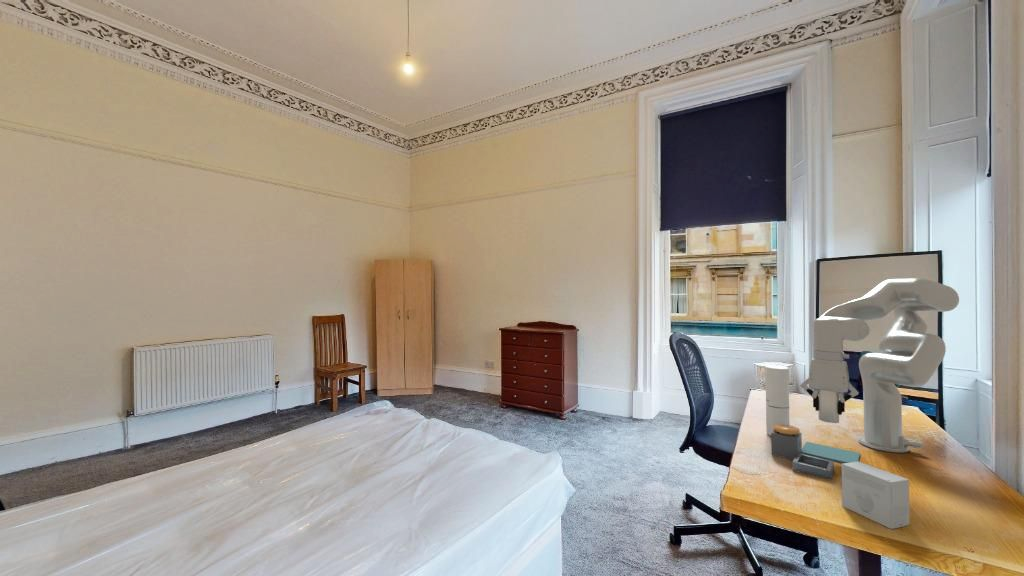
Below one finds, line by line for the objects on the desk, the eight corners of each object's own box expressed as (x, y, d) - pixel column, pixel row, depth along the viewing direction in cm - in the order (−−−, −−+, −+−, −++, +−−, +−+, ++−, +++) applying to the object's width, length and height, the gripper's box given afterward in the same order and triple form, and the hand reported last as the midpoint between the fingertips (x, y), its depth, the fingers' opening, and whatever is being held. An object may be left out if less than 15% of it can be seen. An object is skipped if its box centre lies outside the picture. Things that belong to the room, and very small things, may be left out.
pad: (860, 454, 127) (860, 452, 127) (857, 466, 118) (857, 464, 118) (806, 443, 137) (806, 441, 137) (800, 453, 128) (800, 451, 128)
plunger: (801, 443, 128) (801, 427, 128) (797, 449, 123) (797, 433, 123) (776, 437, 133) (776, 422, 133) (771, 443, 128) (771, 427, 128)
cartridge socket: (834, 469, 116) (834, 461, 116) (830, 480, 110) (830, 471, 110) (798, 461, 123) (798, 453, 123) (792, 470, 116) (792, 461, 116)
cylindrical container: (782, 431, 149) (781, 365, 149) (794, 438, 141) (792, 369, 142) (762, 430, 149) (761, 365, 150) (773, 437, 142) (772, 368, 142)
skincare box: (911, 525, 89) (910, 478, 89) (892, 530, 87) (891, 482, 87) (859, 501, 99) (858, 459, 99) (840, 505, 97) (839, 463, 97)
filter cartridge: (840, 420, 128) (839, 386, 128) (838, 424, 124) (837, 389, 124) (819, 416, 131) (819, 383, 132) (817, 420, 128) (817, 386, 128)
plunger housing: (801, 454, 128) (801, 432, 128) (797, 460, 123) (797, 438, 123) (776, 448, 133) (776, 427, 133) (771, 454, 128) (771, 432, 128)
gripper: (864, 357, 125) (864, 415, 124) (798, 352, 137) (798, 404, 136) (862, 360, 119) (863, 420, 119) (794, 354, 131) (794, 408, 131)
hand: (828, 411), depth 128 cm, fingers closed on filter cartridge, 5 cm apart
